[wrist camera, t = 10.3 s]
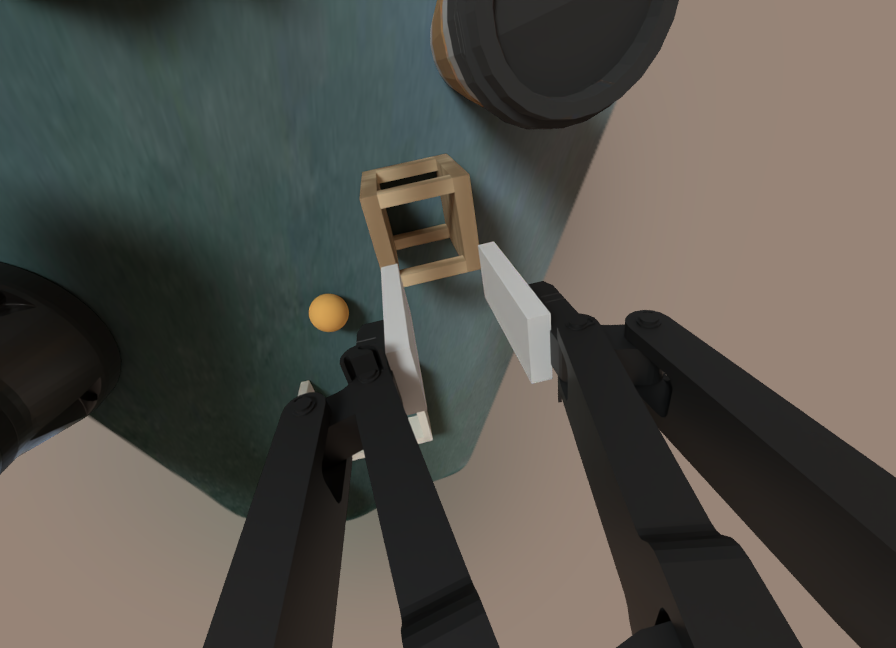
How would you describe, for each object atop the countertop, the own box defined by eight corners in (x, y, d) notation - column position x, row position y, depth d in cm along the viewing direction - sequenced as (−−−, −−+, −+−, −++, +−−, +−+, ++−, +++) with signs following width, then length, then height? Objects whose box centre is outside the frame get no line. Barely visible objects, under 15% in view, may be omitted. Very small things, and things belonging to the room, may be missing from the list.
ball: (319, 322, 34) (314, 343, 31) (305, 292, 32) (300, 310, 30) (354, 314, 34) (352, 334, 32) (343, 283, 33) (340, 301, 30)
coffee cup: (549, 82, 27) (701, 79, 15) (442, 132, 28) (501, 171, 15) (518, -72, 23) (701, -267, 10) (391, -9, 23) (415, -119, 11)
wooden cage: (383, 247, 32) (387, 291, 25) (362, 172, 28) (359, 198, 22) (458, 230, 32) (482, 268, 25) (446, 153, 29) (469, 174, 22)
